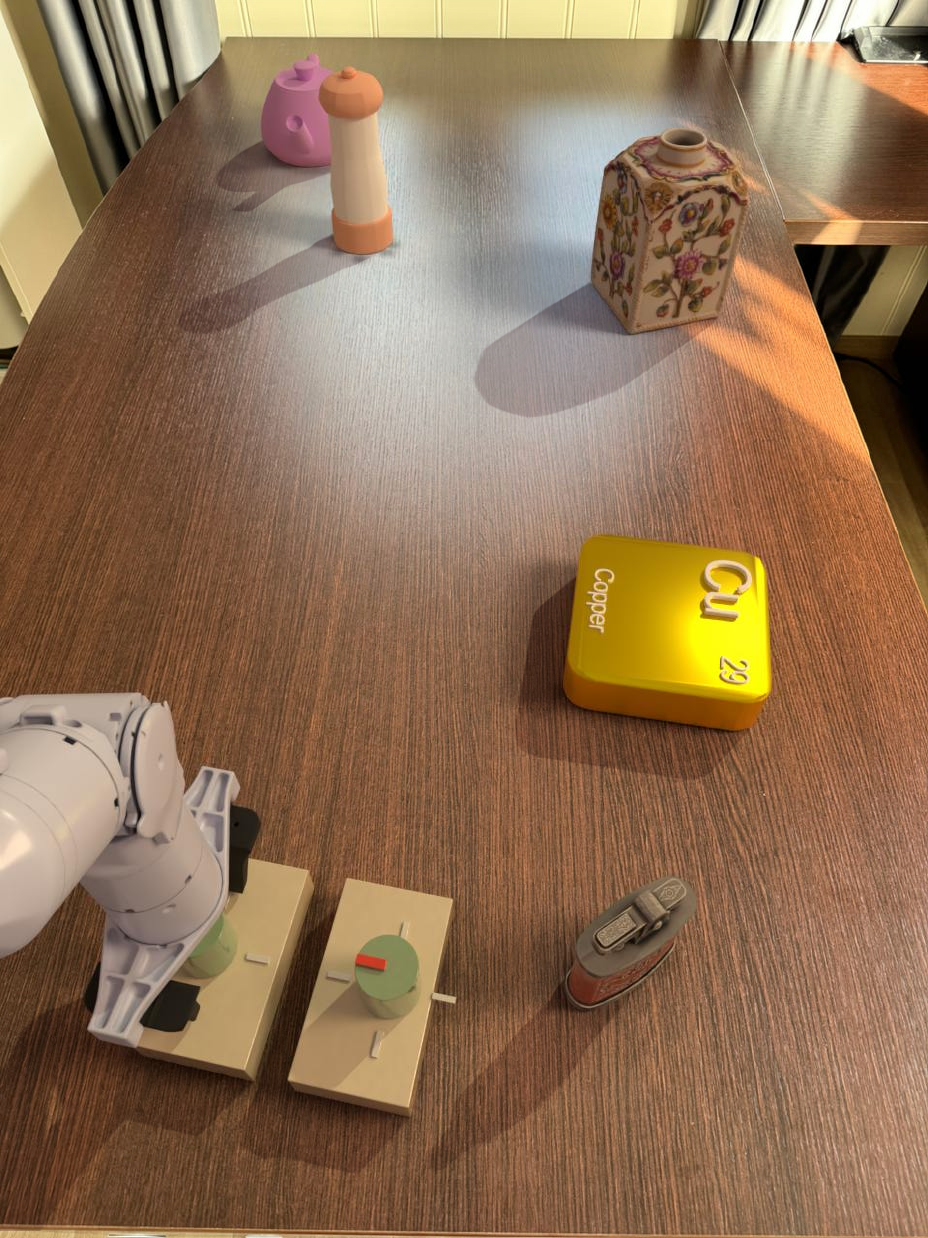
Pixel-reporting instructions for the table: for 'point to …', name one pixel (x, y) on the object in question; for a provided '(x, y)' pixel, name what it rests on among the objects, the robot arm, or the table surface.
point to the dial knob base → (341, 1023)
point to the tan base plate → (242, 977)
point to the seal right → (388, 976)
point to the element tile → (669, 632)
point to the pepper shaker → (356, 162)
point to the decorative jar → (668, 230)
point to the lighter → (628, 942)
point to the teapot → (297, 116)
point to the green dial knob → (213, 951)
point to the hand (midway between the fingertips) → (206, 946)
